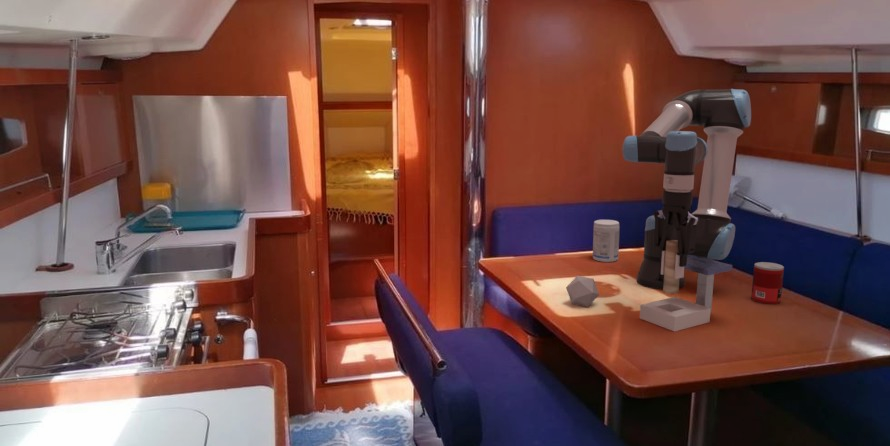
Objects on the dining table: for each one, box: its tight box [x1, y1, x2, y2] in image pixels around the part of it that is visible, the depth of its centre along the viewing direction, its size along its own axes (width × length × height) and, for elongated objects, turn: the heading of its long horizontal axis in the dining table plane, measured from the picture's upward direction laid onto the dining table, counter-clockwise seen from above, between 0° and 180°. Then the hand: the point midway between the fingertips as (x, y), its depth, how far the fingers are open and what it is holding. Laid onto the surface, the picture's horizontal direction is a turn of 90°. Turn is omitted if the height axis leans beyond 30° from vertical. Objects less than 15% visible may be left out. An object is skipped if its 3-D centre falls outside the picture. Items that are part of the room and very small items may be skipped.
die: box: [565, 275, 600, 307], centre depth 190 cm, size 8×9×10 cm
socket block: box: [639, 296, 712, 332], centre depth 176 cm, size 12×14×4 cm
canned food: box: [751, 261, 785, 305], centre depth 192 cm, size 8×8×11 cm
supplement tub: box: [592, 219, 620, 263], centre depth 241 cm, size 10×10×15 cm
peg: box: [662, 240, 680, 295], centre depth 172 cm, size 4×4×14 cm
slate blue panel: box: [684, 255, 733, 315], centre depth 179 cm, size 14×10×16 cm
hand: (672, 275), depth 172 cm, fingers closed on peg, 4 cm apart
